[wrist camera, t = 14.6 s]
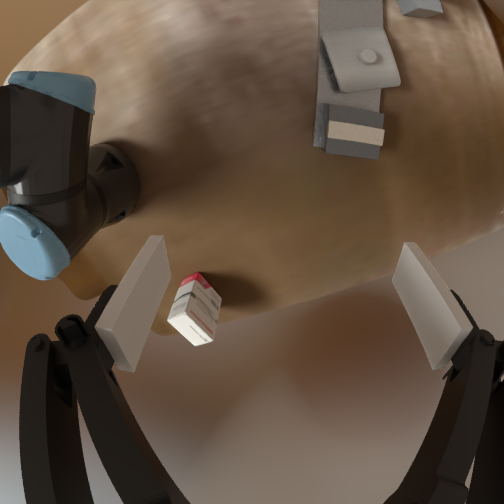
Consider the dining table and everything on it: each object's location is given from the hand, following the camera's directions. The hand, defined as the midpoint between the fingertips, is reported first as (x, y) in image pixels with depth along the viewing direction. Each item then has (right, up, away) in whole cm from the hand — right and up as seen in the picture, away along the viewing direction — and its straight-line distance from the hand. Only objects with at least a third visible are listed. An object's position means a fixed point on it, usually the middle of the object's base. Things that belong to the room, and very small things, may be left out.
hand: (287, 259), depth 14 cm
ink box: (-12, -7, +43) cm, 45 cm away
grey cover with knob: (+12, +32, +15) cm, 37 cm away
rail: (+13, +32, +16) cm, 38 cm away
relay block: (+24, +41, +10) cm, 49 cm away
